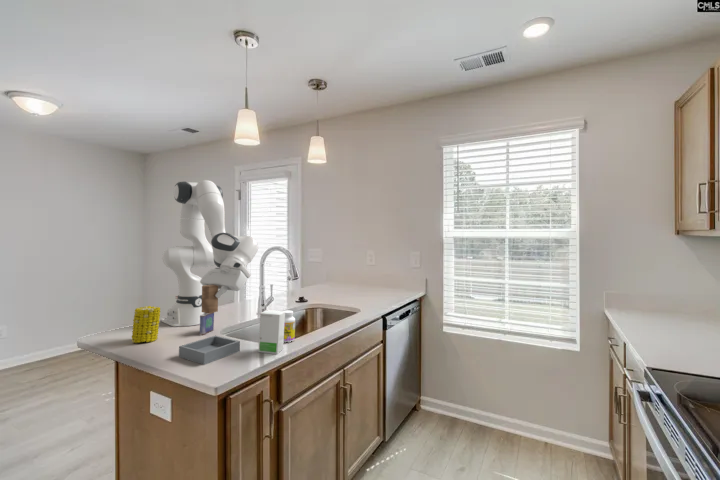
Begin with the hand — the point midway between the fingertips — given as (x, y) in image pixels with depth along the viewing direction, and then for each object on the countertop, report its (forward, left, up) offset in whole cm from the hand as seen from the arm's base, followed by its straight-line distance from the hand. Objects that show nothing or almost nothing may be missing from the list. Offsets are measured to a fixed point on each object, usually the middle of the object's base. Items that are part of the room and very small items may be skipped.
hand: (210, 296), depth 129 cm
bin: (0, 0, -22) cm, 22 cm away
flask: (-25, +18, -22) cm, 38 cm away
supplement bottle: (+14, +28, -22) cm, 38 cm away
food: (-36, -3, -22) cm, 42 cm away
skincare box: (+17, +15, -22) cm, 32 cm away
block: (0, 0, -6) cm, 6 cm away
